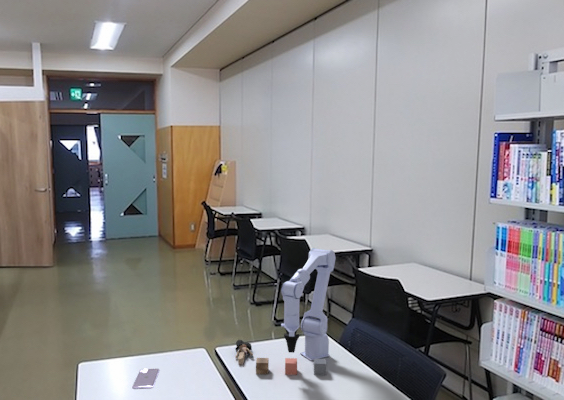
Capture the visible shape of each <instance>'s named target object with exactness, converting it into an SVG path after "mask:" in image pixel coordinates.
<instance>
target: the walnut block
mask: <svg viewBox="0 0 564 400" xmlns="http://www.w3.org/2000/svg"><path fill="white" fill-rule="evenodd" d="M269 361H270V359H269V357H257V358H256V361H255V374H256V375H269V364H270V363H269Z"/></svg>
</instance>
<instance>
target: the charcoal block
mask: <svg viewBox="0 0 564 400" xmlns="http://www.w3.org/2000/svg"><path fill="white" fill-rule="evenodd" d="M313 375H314V376H327V359H326V358H320V359H314V360H313Z"/></svg>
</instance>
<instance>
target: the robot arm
mask: <svg viewBox="0 0 564 400" xmlns="http://www.w3.org/2000/svg"><path fill="white" fill-rule="evenodd" d="M335 263H336V254H335V251H334V250H332V249H330V250H329V249H321V248H315V247H313V248H312V247H311V249H310V250H309V252H308V259H307V261H306V263H305V264H304V266H303V267H302V268H298V269H297V271H296V272H295V273H294V274H293V276H292V277H291V278H290V279H289V280H287V281H285V282H283V284H282V285H281V290H280V292H281V295H282V300H283V301H284V303H283V304H284V309H283V317H284V318H283V323H280V327H281V328H284V330H285V333H283V337H284V339H285V342H286V346H287V347H286V348H287V351H288V353H292V354H293V353H295V351H296V347H297V346H296V345H297V342H298V341H299V338H300V334H297V333H298V332H297V331H298V330H299V329H300V330H301V331H302V332H303V336H304V351H302V352H300V355H301V356H303V357H304V358H306V359H308V360H309V361H314V359H325V358H326V357H330V353H329V351H330V350H329V349H330V348H329V347H330V346H329V344H330V341H329V337H328V334H327V332H328V321H329V319H328V317H327V316H326V314H325V312H323V311H324V305H325V301H326V296H327V291H328V284H329V281H330V275H331V272H333V271H334V269H335ZM314 270H316V272H317V275H316V281H315V285H314V291H313V294H312V295H313V297H312V301H311V305H310V309H309V310H307V311H305V312H304V314H303V318H302V319H301V322H300V304H301V303H300V301H301V300H300V298H301V297H302V295H303V291H304V289H305V286H306V284H307V283H309V280H310V279H311V275H310V274H311V273H313V272H314Z"/></svg>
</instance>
